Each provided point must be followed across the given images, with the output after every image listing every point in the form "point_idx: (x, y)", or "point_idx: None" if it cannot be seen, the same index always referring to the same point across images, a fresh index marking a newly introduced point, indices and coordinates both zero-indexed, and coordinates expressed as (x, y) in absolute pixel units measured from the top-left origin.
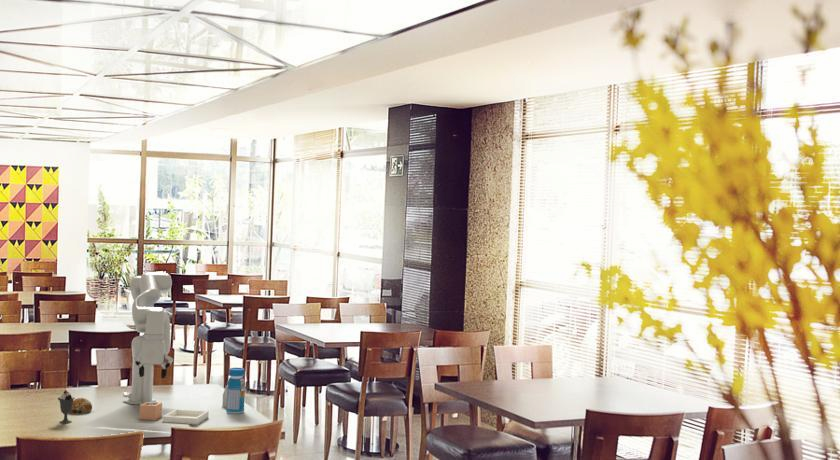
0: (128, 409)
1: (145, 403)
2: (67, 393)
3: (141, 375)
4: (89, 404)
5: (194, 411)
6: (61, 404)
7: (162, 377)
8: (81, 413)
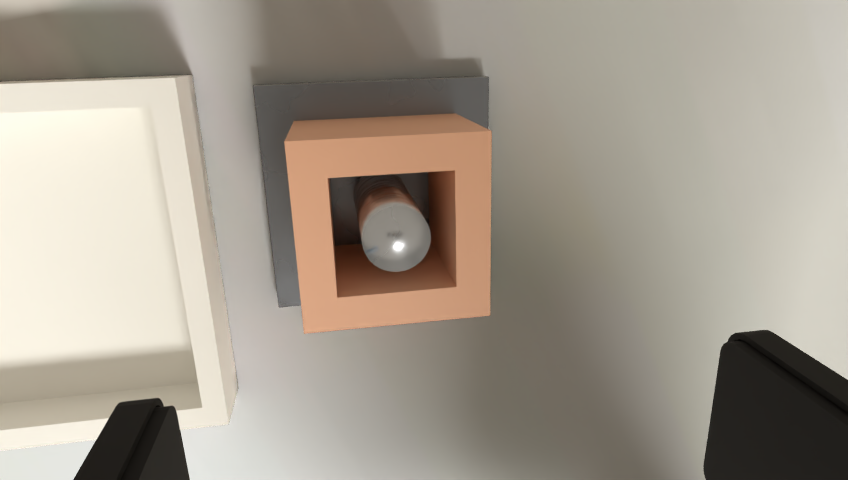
0: (682, 438)
1: (466, 232)
2: None
3: (744, 361)
4: None
5: (11, 425)
6: None
7: (122, 409)
8: None
